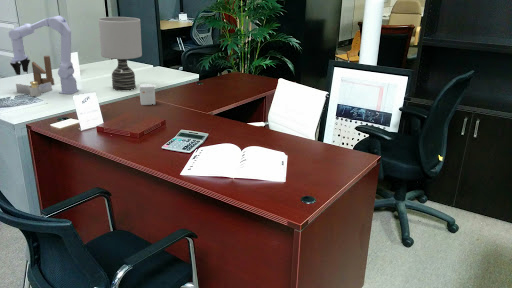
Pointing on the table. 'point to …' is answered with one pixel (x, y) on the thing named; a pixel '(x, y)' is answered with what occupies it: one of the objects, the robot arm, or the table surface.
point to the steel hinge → (34, 89)
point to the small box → (147, 94)
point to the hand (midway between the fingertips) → (21, 73)
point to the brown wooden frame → (43, 72)
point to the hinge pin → (33, 84)
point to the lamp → (121, 47)
